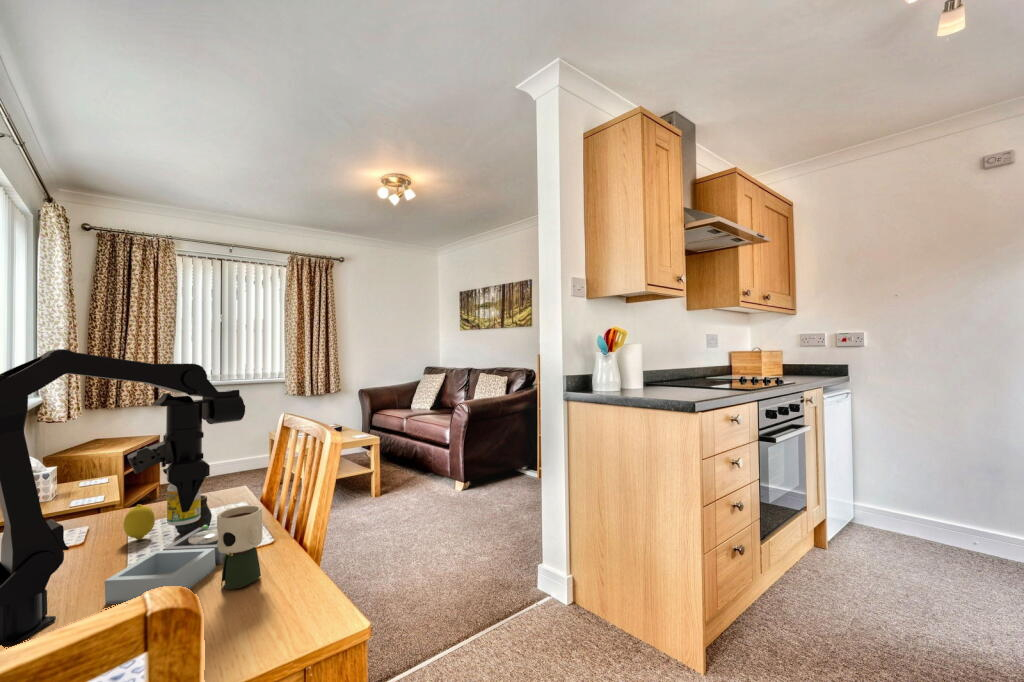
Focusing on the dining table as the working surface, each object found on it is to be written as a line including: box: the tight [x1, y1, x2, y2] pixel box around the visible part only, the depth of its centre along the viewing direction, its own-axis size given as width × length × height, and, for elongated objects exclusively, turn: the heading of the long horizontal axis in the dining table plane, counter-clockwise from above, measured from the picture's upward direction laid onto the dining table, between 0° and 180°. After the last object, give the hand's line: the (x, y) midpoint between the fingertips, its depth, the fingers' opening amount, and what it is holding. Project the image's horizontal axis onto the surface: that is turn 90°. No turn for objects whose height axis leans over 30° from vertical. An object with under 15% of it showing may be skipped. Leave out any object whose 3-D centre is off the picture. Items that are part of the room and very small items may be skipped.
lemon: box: [123, 503, 156, 541], centre depth 105 cm, size 6×6×8 cm
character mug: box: [216, 504, 264, 590], centre depth 84 cm, size 11×7×13 cm, turn 58°
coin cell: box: [188, 529, 219, 546], centre depth 97 cm, size 7×7×2 cm
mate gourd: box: [174, 494, 213, 537], centre depth 108 cm, size 7×8×10 cm
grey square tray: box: [162, 525, 226, 566], centre depth 97 cm, size 11×11×4 cm
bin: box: [104, 548, 216, 605], centre depth 84 cm, size 11×11×4 cm
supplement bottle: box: [166, 483, 202, 526], centre depth 90 cm, size 5×5×10 cm
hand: (183, 508), depth 90 cm, fingers closed on supplement bottle, 5 cm apart
